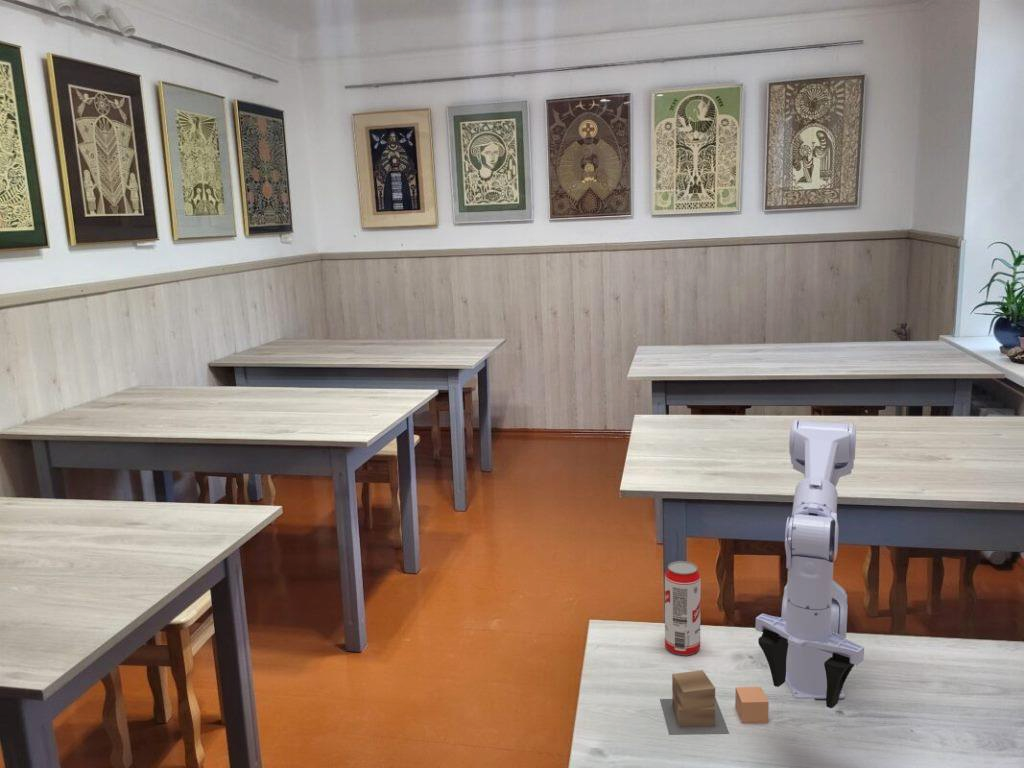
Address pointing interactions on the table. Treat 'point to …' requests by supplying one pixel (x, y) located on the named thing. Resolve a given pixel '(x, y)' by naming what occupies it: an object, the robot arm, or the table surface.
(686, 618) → the beer can
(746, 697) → the cube
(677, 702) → the slab bottom
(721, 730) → the mat
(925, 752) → the table surface
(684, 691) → the slab top
